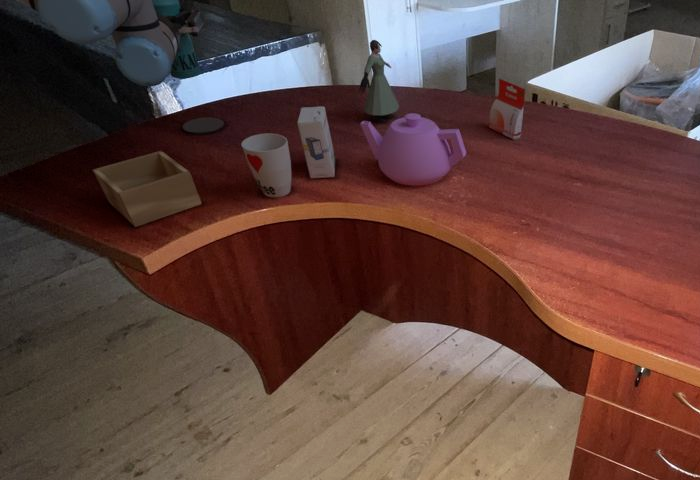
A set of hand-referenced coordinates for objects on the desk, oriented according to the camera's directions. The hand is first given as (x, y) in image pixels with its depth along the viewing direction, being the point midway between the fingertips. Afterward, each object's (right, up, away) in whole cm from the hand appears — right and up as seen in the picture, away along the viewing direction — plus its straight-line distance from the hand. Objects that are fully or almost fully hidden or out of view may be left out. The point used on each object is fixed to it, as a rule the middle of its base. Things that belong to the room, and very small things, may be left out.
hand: (169, 9), depth 115 cm
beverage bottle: (+1, -13, +6) cm, 14 cm away
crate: (+5, -45, -13) cm, 47 cm away
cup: (+26, -41, -7) cm, 50 cm away
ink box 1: (+33, -35, 0) cm, 48 cm away
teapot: (+53, -35, +1) cm, 63 cm away
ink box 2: (+72, -20, +18) cm, 77 cm away
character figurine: (+41, -15, +21) cm, 48 cm away
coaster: (0, -20, +13) cm, 24 cm away
